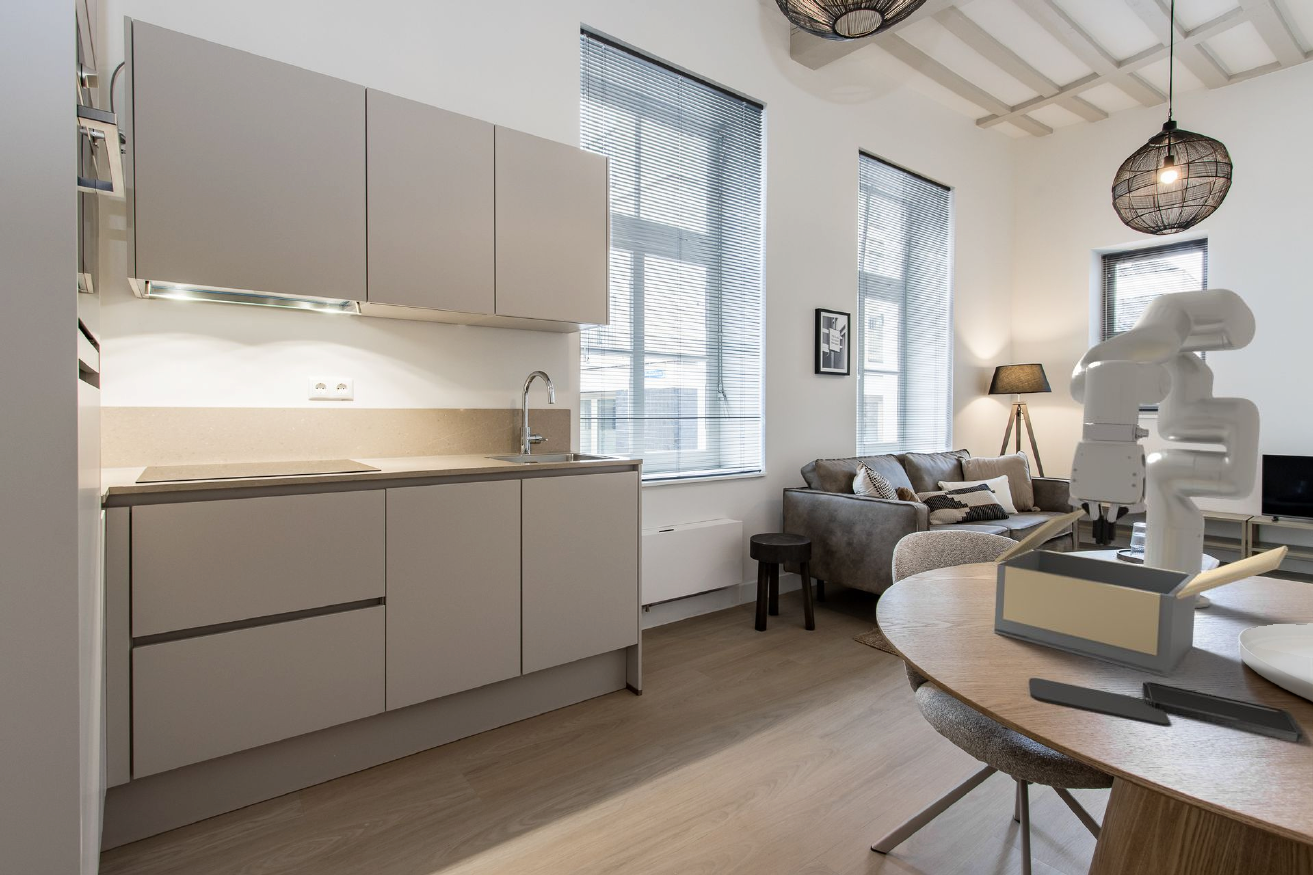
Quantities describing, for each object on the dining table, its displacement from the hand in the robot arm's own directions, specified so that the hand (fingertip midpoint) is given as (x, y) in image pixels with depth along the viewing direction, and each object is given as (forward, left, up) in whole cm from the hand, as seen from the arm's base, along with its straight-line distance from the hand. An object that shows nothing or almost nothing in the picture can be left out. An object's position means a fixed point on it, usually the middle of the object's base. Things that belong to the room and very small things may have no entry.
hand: (1103, 543), depth 108 cm
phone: (+28, +6, -17) cm, 33 cm away
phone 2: (+19, +17, -17) cm, 31 cm away
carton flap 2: (0, +16, -1) cm, 16 cm away
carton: (0, -1, -17) cm, 17 cm away
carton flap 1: (0, -9, 0) cm, 9 cm away
